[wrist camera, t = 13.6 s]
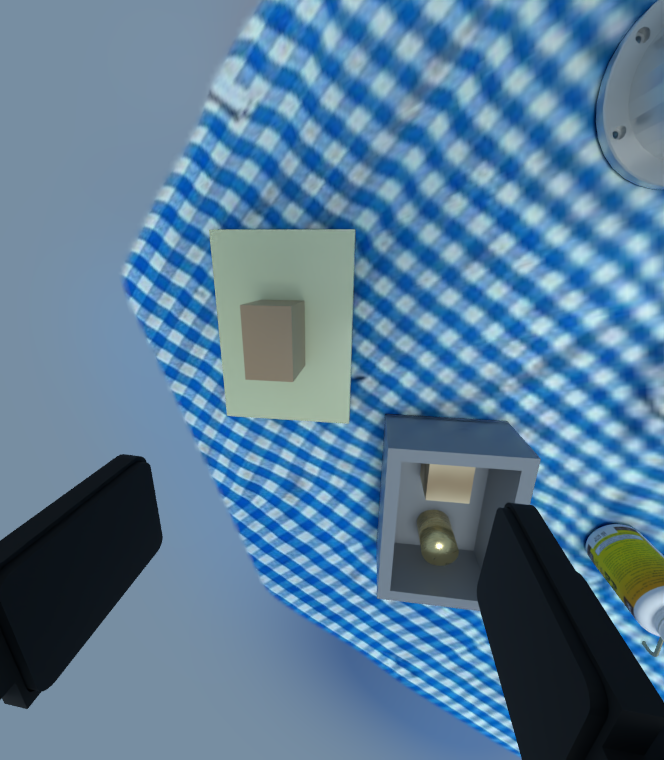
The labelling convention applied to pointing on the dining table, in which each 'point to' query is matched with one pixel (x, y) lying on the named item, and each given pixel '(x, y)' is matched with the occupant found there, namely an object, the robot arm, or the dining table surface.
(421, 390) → the dining table surface
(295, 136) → the dining table surface
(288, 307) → the lid
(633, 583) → the supplement bottle
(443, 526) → the brass slug
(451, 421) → the tub
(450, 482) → the pine block
